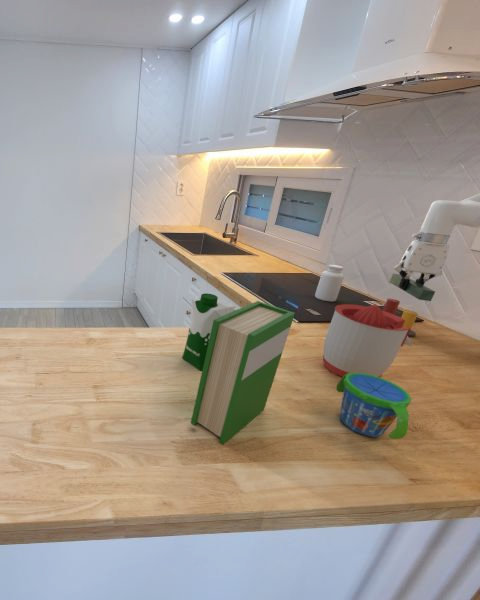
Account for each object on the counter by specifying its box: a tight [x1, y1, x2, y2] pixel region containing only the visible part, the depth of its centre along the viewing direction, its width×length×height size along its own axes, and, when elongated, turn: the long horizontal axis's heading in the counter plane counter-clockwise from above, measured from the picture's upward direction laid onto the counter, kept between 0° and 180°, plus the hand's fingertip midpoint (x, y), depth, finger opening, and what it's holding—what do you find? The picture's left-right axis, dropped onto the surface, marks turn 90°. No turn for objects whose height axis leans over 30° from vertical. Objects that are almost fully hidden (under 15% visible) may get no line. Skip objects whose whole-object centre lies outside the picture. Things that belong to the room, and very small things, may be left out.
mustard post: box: [400, 309, 419, 338], centre depth 118 cm, size 7×7×8 cm
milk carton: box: [182, 292, 236, 372], centre depth 90 cm, size 9×9×20 cm
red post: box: [382, 298, 401, 315], centre depth 128 cm, size 7×7×8 cm
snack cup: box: [335, 373, 412, 440], centre depth 71 cm, size 16×10×10 cm
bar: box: [389, 273, 436, 302], centre depth 119 cm, size 3×20×3 cm, turn 161°
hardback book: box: [190, 300, 296, 446], centre depth 69 cm, size 18×7×24 cm, turn 129°
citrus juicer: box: [322, 303, 413, 378], centre depth 89 cm, size 16×17×20 cm
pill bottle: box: [314, 264, 345, 302], centre depth 146 cm, size 8×8×15 cm
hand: (409, 289), depth 119 cm, fingers closed on bar, 3 cm apart
